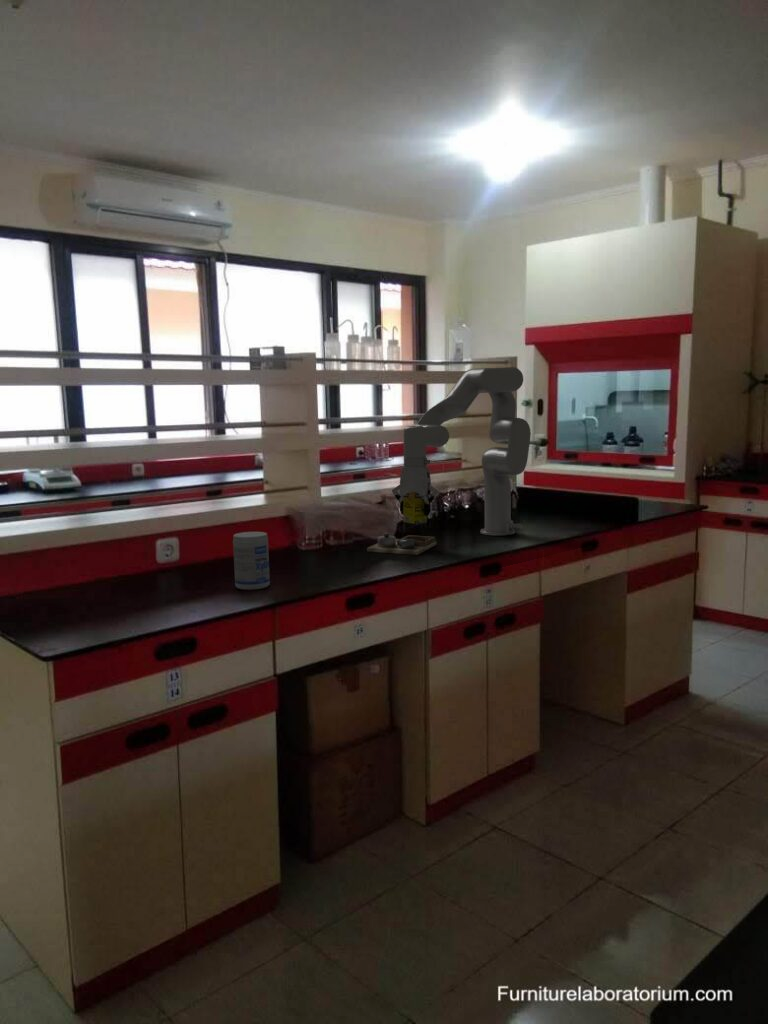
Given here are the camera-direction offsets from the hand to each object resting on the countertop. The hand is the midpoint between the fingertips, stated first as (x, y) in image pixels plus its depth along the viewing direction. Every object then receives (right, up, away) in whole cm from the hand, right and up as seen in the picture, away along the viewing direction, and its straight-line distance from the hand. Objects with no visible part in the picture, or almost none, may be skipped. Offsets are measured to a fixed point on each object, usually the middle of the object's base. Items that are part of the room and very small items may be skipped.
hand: (415, 514), depth 265 cm
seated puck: (-3, -11, -6) cm, 13 cm away
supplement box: (0, -4, +1) cm, 4 cm away
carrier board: (-4, -11, 0) cm, 12 cm away
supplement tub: (-47, -20, -49) cm, 71 cm away
